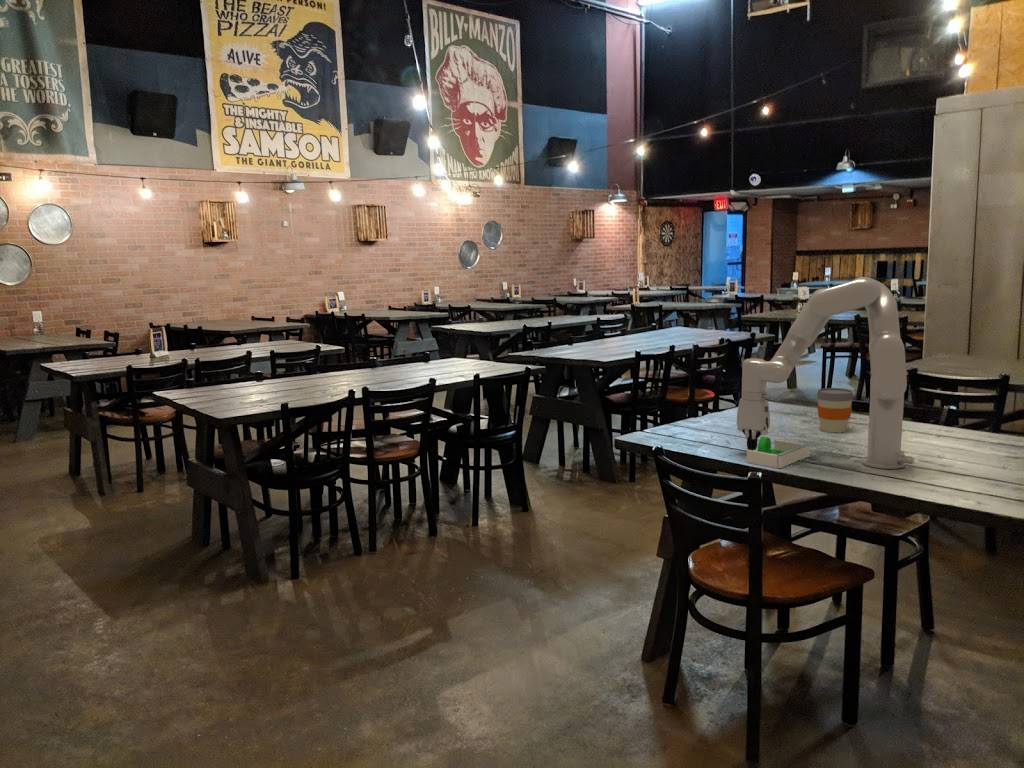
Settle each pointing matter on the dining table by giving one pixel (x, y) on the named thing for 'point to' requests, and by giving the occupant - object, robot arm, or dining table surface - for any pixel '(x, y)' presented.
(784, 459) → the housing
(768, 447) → the mechanical part
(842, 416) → the reusable coffee cup
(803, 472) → the dining table surface
